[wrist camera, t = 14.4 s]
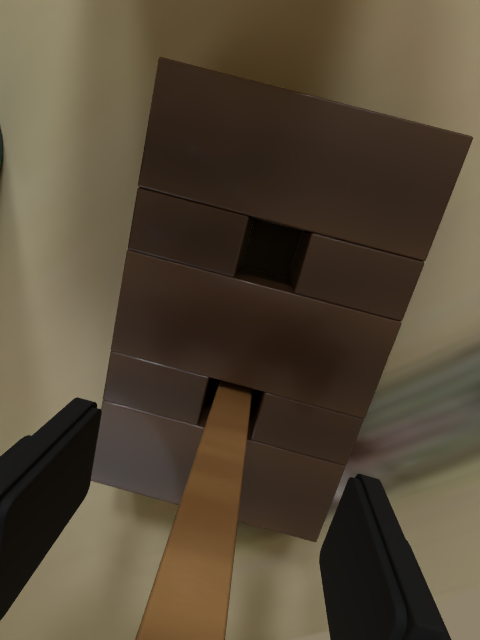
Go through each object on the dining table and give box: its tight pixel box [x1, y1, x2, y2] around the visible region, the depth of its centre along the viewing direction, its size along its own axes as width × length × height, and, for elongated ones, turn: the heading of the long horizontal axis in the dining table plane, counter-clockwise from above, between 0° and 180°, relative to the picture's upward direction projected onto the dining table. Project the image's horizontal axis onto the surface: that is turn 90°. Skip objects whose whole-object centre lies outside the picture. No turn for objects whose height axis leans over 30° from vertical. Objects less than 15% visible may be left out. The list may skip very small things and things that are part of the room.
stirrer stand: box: [91, 57, 473, 542], centre depth 15 cm, size 16×10×4 cm, turn 166°
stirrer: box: [135, 380, 252, 640], centre depth 12 cm, size 1×1×13 cm
